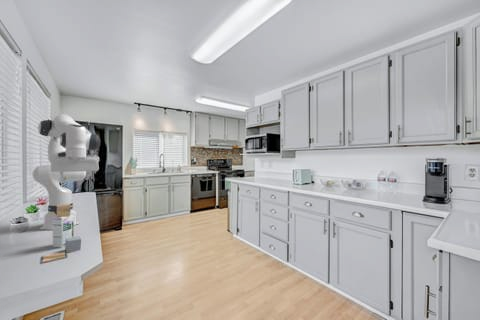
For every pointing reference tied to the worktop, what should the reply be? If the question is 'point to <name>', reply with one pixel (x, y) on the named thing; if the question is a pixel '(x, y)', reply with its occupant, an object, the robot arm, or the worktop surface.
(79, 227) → the worktop surface
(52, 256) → the tile
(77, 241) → the slate cube
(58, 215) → the oak cube
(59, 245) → the syrup box
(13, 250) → the worktop surface
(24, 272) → the worktop surface
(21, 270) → the worktop surface
